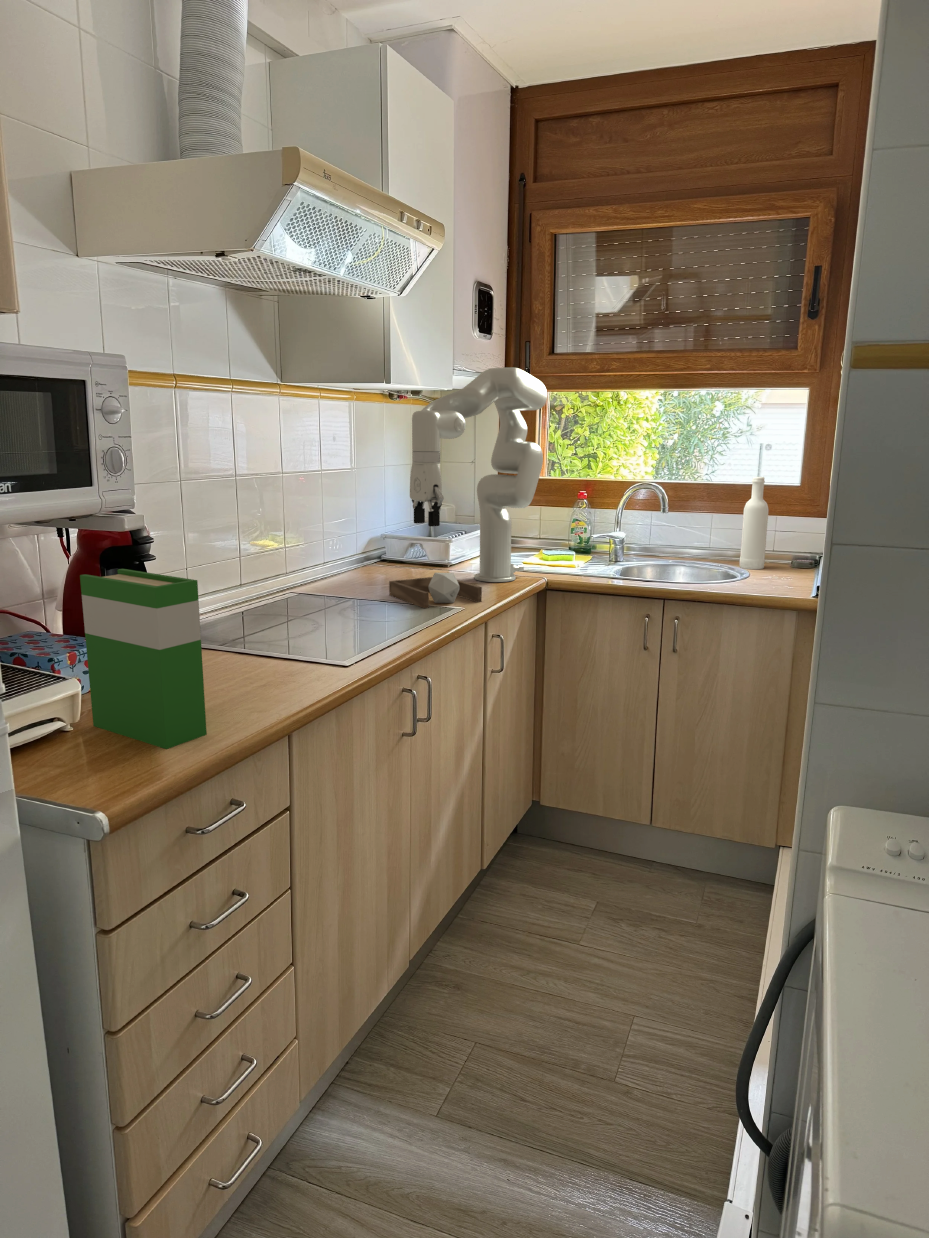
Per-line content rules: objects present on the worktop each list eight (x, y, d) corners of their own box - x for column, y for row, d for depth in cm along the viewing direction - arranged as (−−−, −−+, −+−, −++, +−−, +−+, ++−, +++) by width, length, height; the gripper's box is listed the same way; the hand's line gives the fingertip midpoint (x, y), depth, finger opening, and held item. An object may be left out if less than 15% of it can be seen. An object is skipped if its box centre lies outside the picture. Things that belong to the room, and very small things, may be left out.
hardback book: (93, 725, 138) (79, 575, 133) (133, 713, 144) (122, 568, 139) (166, 749, 128) (155, 587, 123) (206, 734, 134) (197, 580, 129)
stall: (443, 589, 251) (443, 575, 251) (481, 601, 235) (481, 587, 234) (389, 595, 243) (389, 581, 242) (424, 608, 226) (424, 593, 225)
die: (448, 609, 229) (467, 578, 230) (420, 591, 229) (439, 561, 231) (448, 613, 237) (467, 583, 238) (421, 597, 237) (440, 567, 239)
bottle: (746, 565, 299) (753, 476, 292) (768, 567, 294) (775, 477, 287) (734, 567, 293) (741, 476, 287) (757, 570, 288) (764, 478, 282)
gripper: (398, 457, 239) (399, 522, 243) (430, 459, 225) (430, 528, 229) (422, 456, 243) (422, 520, 247) (455, 459, 229) (455, 527, 233)
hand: (426, 524), depth 238 cm, fingers open, 7 cm apart
